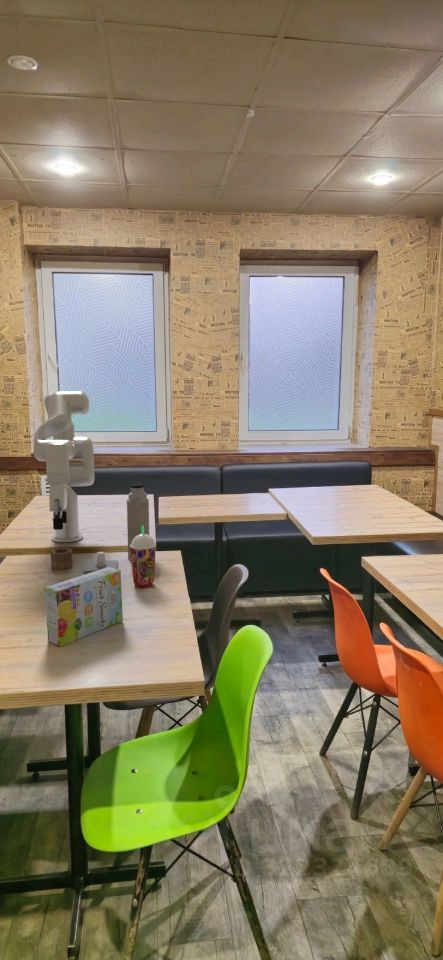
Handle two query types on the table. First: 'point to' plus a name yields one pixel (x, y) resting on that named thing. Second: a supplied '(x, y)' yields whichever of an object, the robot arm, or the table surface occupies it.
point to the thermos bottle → (137, 513)
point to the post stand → (99, 564)
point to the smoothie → (143, 560)
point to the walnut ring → (61, 559)
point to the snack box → (83, 605)
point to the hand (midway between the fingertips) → (60, 526)
